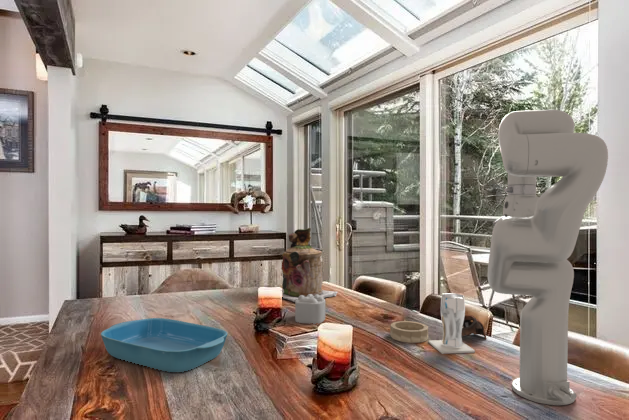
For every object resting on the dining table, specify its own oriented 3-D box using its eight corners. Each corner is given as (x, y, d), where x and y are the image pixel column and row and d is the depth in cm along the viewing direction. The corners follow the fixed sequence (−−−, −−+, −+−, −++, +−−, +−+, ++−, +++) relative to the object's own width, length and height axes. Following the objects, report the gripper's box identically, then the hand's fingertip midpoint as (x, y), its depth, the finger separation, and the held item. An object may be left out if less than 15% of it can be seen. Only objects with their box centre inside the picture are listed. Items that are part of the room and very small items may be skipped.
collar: (433, 342, 132) (433, 330, 132) (397, 343, 130) (397, 331, 130) (419, 331, 143) (419, 320, 143) (386, 332, 142) (386, 321, 142)
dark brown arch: (493, 343, 132) (483, 322, 131) (464, 355, 134) (455, 334, 132) (479, 323, 144) (470, 304, 142) (453, 334, 145) (444, 315, 143)
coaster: (474, 352, 123) (474, 350, 123) (441, 353, 122) (441, 351, 122) (458, 341, 133) (458, 339, 133) (428, 342, 131) (428, 340, 131)
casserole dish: (242, 355, 120) (243, 329, 120) (186, 384, 100) (186, 354, 100) (148, 336, 136) (149, 314, 136) (84, 358, 116) (84, 332, 116)
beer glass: (438, 346, 126) (438, 296, 125) (442, 340, 132) (443, 292, 132) (462, 350, 122) (463, 299, 122) (466, 343, 129) (466, 294, 128)
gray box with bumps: (292, 322, 153) (292, 298, 153) (302, 313, 166) (303, 291, 166) (320, 324, 150) (320, 300, 150) (328, 315, 163) (329, 293, 163)
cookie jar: (306, 288, 216) (306, 225, 215) (339, 296, 197) (340, 227, 196) (265, 294, 200) (266, 226, 199) (297, 304, 181) (298, 229, 181)
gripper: (502, 190, 119) (501, 252, 119) (557, 191, 121) (556, 251, 121) (487, 191, 126) (486, 249, 126) (539, 192, 129) (538, 248, 129)
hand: (520, 250), depth 124 cm, fingers open, 9 cm apart
